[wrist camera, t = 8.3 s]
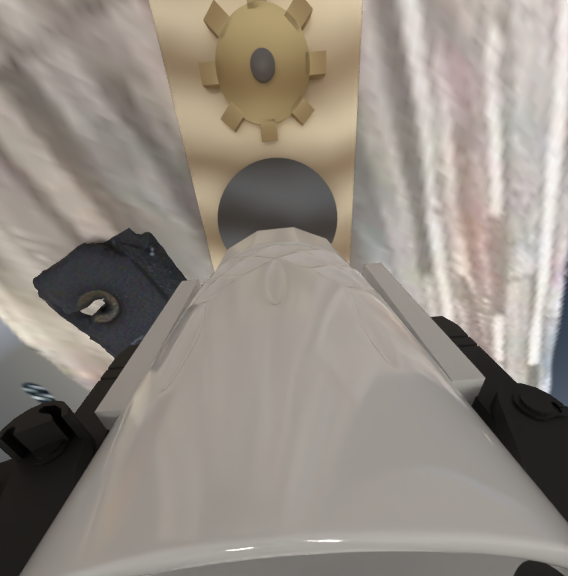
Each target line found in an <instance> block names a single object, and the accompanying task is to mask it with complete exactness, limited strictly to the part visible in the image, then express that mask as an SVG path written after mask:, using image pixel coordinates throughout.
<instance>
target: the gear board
mask: <svg viewBox="0 0 568 576" xmlns="http://www.w3.org/2000/svg"><path fill="white" fill-rule="evenodd" d="M362 2H363V0H149V3H150V8H151V12H152V16H153V20H154V24H155V28H156V32H157V37H158V41H159V45H160V49H161V53H162V57H163V61H164V65H165V70H166V74H167V78H168V82H169V86H170V90H171V94H172V99H173V103H174V107H175V111H176V115H177V119H178V123H179V128H180V132H181V136H182V140H183V144H184V148H185V152H186V156H187V161H188V165H189V169H190V173H191V177H192V181H193V185H194V190H195V194H196V198H197V202H198V206H199V210H200V214H201V219H202V223H203V227H204V231H205V235H206V239H207V243H208V247H209V252H210V256H211V260H212V264H213V268H214V272H215V271H216V269H217V267H218V265H219V264H220V262H221V260H222V258H223V257H224V255H225V253H226V251H227V250H228V249H229V248H230V247H232V246H234V245H235V244H237V243H238V242H240V241H242V240H243V239H245V238H246V237H248V236H250V235H251V234H253V233H254V232H256V231H259V230H269V229H278V228H288V227H295V228H298V229H300V230H303V231H306V232H309V233H312V234H314V235H317V236H320V237H323V238H326V239H327V240H328V241H329V242H330V243H331V244H332V246H333V247H334V248H335V249H336V250H337V251H338V252H339V253H340V254H341V255H342V256H343V257H344V259H345V260H346V261H347V262H348V263H349V264H350V247H351V226H352V206H353V185H354V165H355V145H356V124H357V104H358V83H359V63H360V43H361V22H362Z"/></svg>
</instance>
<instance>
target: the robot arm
mask: <svg viewBox="0 0 568 576" xmlns="http://www.w3.org/2000/svg"><path fill="white" fill-rule="evenodd" d="M363 277H364V278H365V279H366V281H367V282H368V283H369V284H370V285H371V286H372V287H373V288H374V289H375V290H376V291H377V292H378V293H379V294H380V296H381V297H382V298H383V299H384V300H385V302H386V303H387V304H388V305H389V306H390V308H391V309H392V310H393V311H394V312H395V314H396V315H397V316H398V317H399V318H400V320H401V321H402V322H403V323H404V325H405V326H406V327H407V328H408V329H409V331H410V332H411V333H412V334H413V336H414V337H415V338H416V339H417V340H418V342H419V343H420V344H421V345H422V346H423V348H424V349H425V350H426V351H427V352H428V354H429V355H430V356H431V357H432V358H433V360H434V361H435V362H436V363H437V365H438V366H439V367H440V368H441V369H442V371H443V372H444V373H445V374H446V376H447V377H448V378H449V379H450V380H451V382H452V383H453V384H454V385H455V387H456V388H457V389H458V390H459V391H460V393H461V394H462V395H463V396H464V398H465V399H466V400H467V401H468V402H469V404H470V405H471V406H472V407H473V408H474V410H475V411H476V412H477V413H478V415H479V416H480V417H481V418H482V419H483V421H484V422H485V423H486V424H487V425H488V427H489V428H490V429H491V430H492V432H493V433H494V434H495V435H496V436H497V438H498V439H499V440H500V441H501V442H502V444H503V445H504V446H505V447H506V448H507V450H508V451H509V452H510V453H511V454H512V456H513V457H514V458H515V459H516V460H517V462H518V463H519V464H520V465H521V467H522V468H523V469H524V470H525V471H526V473H527V474H528V475H529V476H530V477H531V479H532V480H533V481H534V482H535V483H536V485H537V486H538V487H539V488H540V489H541V491H542V492H543V493H544V494H545V495H546V497H547V498H548V499H549V500H550V501H551V503H552V504H553V505H554V506H555V508H556V509H557V510H558V511H559V512H560V514H561V515H562V516H563V517H564V518H565V520H566V521H567V522H568V407H566V406H564V405H563V404H562V403H561V402H560V401H558V400H557V399H555V398H554V397H553V396H551V395H550V394H548V393H546V392H544V391H542V390H540V389H538V388H536V387H532V386H529V385H525V384H522V383H517V382H515V381H514V380H513V379H512V378H511V377H510V376H509V375H508V374H507V373H506V372H505V371H504V370H503V369H502V368H501V367H500V366H499V365H498V364H497V363H496V362H495V361H494V360H493V359H492V358H491V357H490V356H489V355H488V354H487V353H486V352H485V351H484V350H483V349H482V348H481V347H480V346H477V344H476V343H475V342H474V341H473V340H472V339H471V338H470V337H468V335H467V334H466V333H465V332H464V331H463V330H462V329H461V328H460V327H459V326H458V325H457V324H455V323H454V322H452V321H450V320H448V319H446V318H445V317H443V316H437V317H430V316H429V315H428V314H427V313H426V312H425V311H424V310H423V309H422V307H421V306H420V305H419V304H418V303H417V302H416V301H415V300H414V299H413V298H412V296H411V295H410V294H409V293H408V292H407V291H406V290H405V289H404V288H403V287H402V285H401V284H400V283H399V282H398V281H397V280H396V279H395V278H394V277H393V276H392V274H391V273H390V272H389V271H388V270H387V269H386V268H385V267H384V266H383V265H382V264H381V263H372V264H364V272H363ZM200 288H201V287H200V284H199V280H187V281H182V282H181V283H180V285H179V286H178V288H177V289H176V291H175V292H174V294H173V295H172V297H171V298H170V300H169V301H168V303H167V304H166V306H165V307H164V309H163V310H162V312H161V313H160V315H159V316H158V318H157V319H156V321H155V322H154V324H153V325H152V327H151V328H150V330H149V331H148V333H147V334H146V336H145V337H144V339H143V340H142V342H141V343H140V344H137V345H130V346H129V347H127V348H126V349H125V350H124V351H123V352H121V353H120V354H119V355H118V356H117V357H116V358H115V359H114V361H113V362H112V364H111V365H110V366H109V368H108V370H106V372H105V373H104V374H103V376H102V377H101V380H100V381H98V383H97V384H96V385H95V387H94V388H93V389H92V391H91V392H90V393H89V395H88V396H87V397H86V399H85V400H84V402H83V403H82V404H81V406H80V407H79V408H78V410H77V411H76V412H75V414H74V413H73V412H72V411H71V409H70V408H69V407H68V406H67V405H66V404H65V402H63V401H51V402H46V403H42V404H40V405H38V406H35V407H33V408H31V409H29V410H27V411H26V412H24V413H22V414H21V415H19V416H18V417H16V418H15V419H13V420H12V421H11V422H10V423H9V424H8V425H7V426H6V427H4V428H3V429H2V430H1V431H0V448H1V449H2V450H3V451H4V452H5V453H7V454H8V455H9V456H10V457H11V458H12V459H10V460H8V461H5V462H2V463H0V576H19V575H20V573H21V571H22V570H23V568H24V567H25V565H26V563H27V562H28V560H29V559H30V557H31V555H32V554H33V552H34V551H35V549H36V548H37V546H38V544H39V543H40V541H41V540H42V538H43V536H44V535H45V533H46V532H47V530H48V528H49V527H50V525H51V524H52V522H53V520H54V519H55V517H56V516H57V514H58V513H59V511H60V509H61V508H62V506H63V505H64V503H65V501H66V500H67V498H68V497H69V495H70V493H71V492H72V490H73V489H74V487H75V485H76V484H77V482H78V481H79V479H80V477H81V476H82V474H83V473H84V471H85V470H86V468H87V466H88V465H89V463H90V462H91V460H92V458H93V457H94V455H95V454H96V452H97V450H98V449H99V447H100V446H101V444H102V442H103V441H104V439H105V438H106V436H107V434H108V433H109V431H110V430H111V428H112V426H113V425H114V423H115V422H116V420H117V418H118V417H119V415H120V414H121V412H122V410H123V409H124V407H125V406H126V404H127V402H128V401H129V399H130V397H131V396H132V394H133V393H134V391H135V389H136V388H137V386H138V385H139V383H140V381H141V380H142V378H143V376H144V375H145V373H146V372H147V370H148V368H149V367H150V365H151V364H152V362H153V361H154V359H155V357H156V356H157V354H158V353H159V351H160V349H161V348H162V346H163V345H164V343H165V341H166V340H167V338H168V337H169V335H170V333H171V332H172V330H173V329H174V327H175V325H176V324H177V322H178V321H179V319H180V317H181V316H182V314H183V312H184V311H185V310H186V308H187V307H188V305H189V304H190V303H191V301H192V300H193V298H194V297H195V295H196V294H197V293H198V291H199V289H200ZM513 576H564V575H563V574H562V573H561V572H559V571H558V570H556V569H555V568H553V567H552V566H550V565H548V564H546V563H542V562H537V561H531V560H527V561H525V562H523V563H522V564H521V565H519V567H518V568H517V570H516V571H515V573H514V575H513Z"/></svg>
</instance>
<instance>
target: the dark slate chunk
mask: <svg viewBox="0 0 568 576" xmlns="http://www.w3.org/2000/svg"><path fill="white" fill-rule="evenodd" d="M182 281H187V279H186V278H185V277H184V276H183V274H182V272H181V271H180V270H179V269H178V268H177V267H176V265H175V264H174V263H173V261H172V260H171V258H170V257H169V256H168V255H167V253H166V251H165V250H164V248H163V247H162V246H161V245H160V244H159V243H158V242H157V240H156V239H155V237H154V236H153V235H152V234H151V233H148V232H146V233H144V234H142V235H139V234H136V233H134V232H133V231H132V230H131V229H130V228H128V229H126V230H125V231H123V232H122V233H120V234H118V235H117V236H114V237H113V238H111V239H110V240H109V241H107V242H105V243H97V244H94V243H92V244H86V243H83V244H82V245H80V246H78V247H77V248H76V249H74V250H73V251H72V252H70V253H69V254H68V256H66V257H65V258H63V259H62V260H61V261H60V262H58V263H56V264H54V265H52V266H51V267H50V268H49V269H47V270H44V271H42V273H41V274H40V275H38V276H37V277H35V278H34V279H33V284H34V287H35V288H36V289H37V290H38V295H39V297H40V298H42V299H43V300H45V301H46V303H47V304H48V305H49V306H50V307H51V308H52V309H54V310H55V311H56V312H57V313H58V314H59V315H60V316H62V317H63V318H64V319H66V320H67V321H69V322H70V323H72V324H73V325H74V326H76V327H77V328H78V329H79V330H80V331H82V332H84V333H86V334H87V335H88V336H90V339H91V340H93V341H95V342H97V343H98V344H100V345H101V346H102V347H103V348H104V349H105V350H106V351H107V352H108V353H109V354H111V355H112V356H113V357H114V358H116V357H117V356H118V355H119V354H120V353H121V352H123V351H124V350H125V349H126V348H127V347H129V346H130V345H137V344H140V343H141V342H142V340H143V339H144V337H145V336H146V334H147V333H148V331H149V330H150V328H151V327H152V325H153V324H154V322H155V321H156V319H157V318H158V316H159V315H160V313H161V312H162V310H163V309H164V307H165V306H166V304H167V303H168V301H169V300H170V298H171V297H172V295H173V294H174V292H175V291H176V289H177V288H178V286H179V285H180V283H181V282H182ZM102 298H105V299H104V300H103V301H104V302H105V304H104V305H103V306H102V307H101V308H100V309H99V310H98V311H97V312H96V313H95V314H93V315H92V316H89V315H86V314H84V313H82V312H80V310H82V309H84V308H86V307H88V306H89V305H90V304H91V303H92V302H93V301H95V300H97V299H102Z"/></svg>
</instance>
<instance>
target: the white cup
mask: <svg viewBox="0 0 568 576" xmlns="http://www.w3.org/2000/svg"><path fill="white" fill-rule="evenodd" d="M527 560H531V561H537V562H542V563H546V564H548V565H550V566H552V567H553V568H555V569H556V570H558V571H559V572H561V573H562V574H563V575H564V576H568V522H567V521H566V520H565V518H564V517H563V516H562V515H561V514H560V512H559V511H558V510H557V509H556V508H555V506H554V505H553V504H552V503H551V501H550V500H549V499H548V498H547V497H546V495H545V494H544V493H543V492H542V491H541V489H540V488H539V487H538V486H537V485H536V483H535V482H534V481H533V480H532V479H531V477H530V476H529V475H528V474H527V473H526V471H525V470H524V469H523V468H522V467H521V465H520V464H519V463H518V462H517V460H516V459H515V458H514V457H513V456H512V454H511V453H510V452H509V451H508V450H507V448H506V447H505V446H504V445H503V444H502V442H501V441H500V440H499V439H498V438H497V436H496V435H495V434H494V433H493V432H492V430H491V429H490V428H489V427H488V425H487V424H486V423H485V422H484V421H483V419H482V418H481V417H480V416H479V415H478V413H477V412H476V411H475V410H474V408H473V407H472V406H471V405H470V404H469V402H468V401H467V400H466V399H465V398H464V396H463V395H462V394H461V393H460V391H459V390H458V389H457V388H456V387H455V385H454V384H453V383H452V382H451V380H450V379H449V378H448V377H447V376H446V374H445V373H444V372H443V371H442V369H441V368H440V367H439V366H438V365H437V363H436V362H435V361H434V360H433V358H432V357H431V356H430V355H429V354H428V352H427V351H426V350H425V349H424V348H423V346H422V345H421V344H420V343H419V342H418V340H417V339H416V338H415V337H414V336H413V334H412V333H411V332H410V331H409V329H408V328H407V327H406V326H405V325H404V323H403V322H402V321H401V320H400V318H399V317H398V316H397V315H396V314H395V312H394V311H393V310H392V309H391V308H390V306H389V305H388V304H387V303H386V302H385V300H384V299H383V298H382V297H381V296H380V294H379V293H378V292H377V291H376V290H375V289H374V288H373V287H372V286H371V285H370V284H369V283H368V282H367V281H366V279H365V278H364V277H363V276H362V275H361V274H360V272H358V271H357V270H356V269H354V268H352V267H351V266H350V264H349V263H348V262H347V261H346V260H345V259H344V257H343V256H342V255H341V254H340V253H339V252H338V251H337V250H336V249H335V248H334V247H333V246H332V244H331V243H330V242H329V241H328V240H327V239H326V238H323V237H320V236H317V235H314V234H312V233H309V232H306V231H303V230H300V229H298V228H295V227H288V228H278V229H269V230H259V231H256V232H254V233H253V234H251V235H250V236H248V237H246V238H245V239H243V240H242V241H240V242H238V243H237V244H235V245H234V246H232V247H230V248H229V249H228V250H227V251H226V253H225V255H224V257H223V258H222V260H221V262H220V264H219V265H218V267H217V269H216V271H215V272H214V273H213V275H212V276H211V277H210V278H209V279H208V280H207V281H206V282H205V283H204V284H203V285H202V286H201V288H200V289H199V291H198V293H197V294H196V295H195V297H194V298H193V300H192V301H191V303H190V304H189V305H188V307H187V308H186V310H185V311H184V312H183V314H182V316H181V317H180V319H179V321H178V322H177V324H176V325H175V327H174V329H173V330H172V332H171V333H170V335H169V337H168V338H167V340H166V341H165V343H164V345H163V346H162V348H161V349H160V351H159V353H158V354H157V356H156V357H155V359H154V361H153V362H152V364H151V365H150V367H149V368H148V370H147V372H146V373H145V375H144V376H143V378H142V380H141V381H140V383H139V385H138V386H137V388H136V389H135V391H134V393H133V394H132V396H131V397H130V399H129V401H128V402H127V404H126V406H125V407H124V409H123V410H122V412H121V414H120V415H119V417H118V418H117V420H116V422H115V423H114V425H113V426H112V428H111V430H110V431H109V433H108V434H107V436H106V438H105V439H104V441H103V442H102V444H101V446H100V447H99V449H98V450H97V452H96V454H95V455H94V457H93V458H92V460H91V462H90V463H89V465H88V466H87V468H86V470H85V471H84V473H83V474H82V476H81V477H80V479H79V481H78V482H77V484H76V485H75V487H74V489H73V490H72V492H71V493H70V495H69V497H68V498H67V500H66V501H65V503H64V505H63V506H62V508H61V509H60V511H59V513H58V514H57V516H56V517H55V519H54V520H53V522H52V524H51V525H50V527H49V528H48V530H47V532H46V533H45V535H44V536H43V538H42V540H41V541H40V543H39V544H38V546H37V548H36V549H35V551H34V552H33V554H32V555H31V557H30V559H29V560H28V562H27V563H26V565H25V567H24V568H23V570H22V571H21V573H20V575H19V576H513V575H514V573H515V571H516V570H517V568H518V567H519V565H521V564H522V563H523V562H525V561H527Z"/></svg>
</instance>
